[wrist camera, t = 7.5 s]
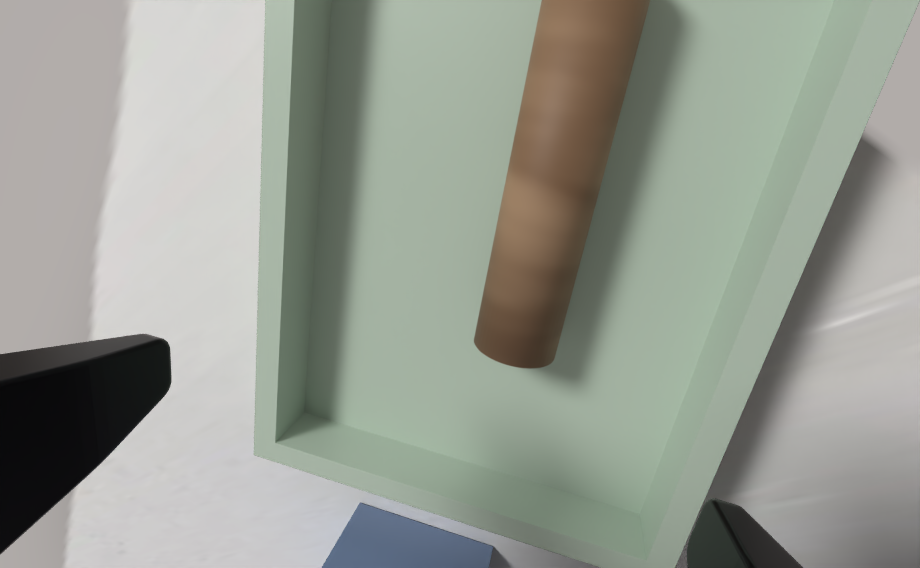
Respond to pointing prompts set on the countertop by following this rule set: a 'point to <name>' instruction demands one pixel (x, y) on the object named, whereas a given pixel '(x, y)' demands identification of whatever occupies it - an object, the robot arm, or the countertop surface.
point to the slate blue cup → (402, 544)
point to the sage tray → (600, 271)
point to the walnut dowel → (555, 173)
